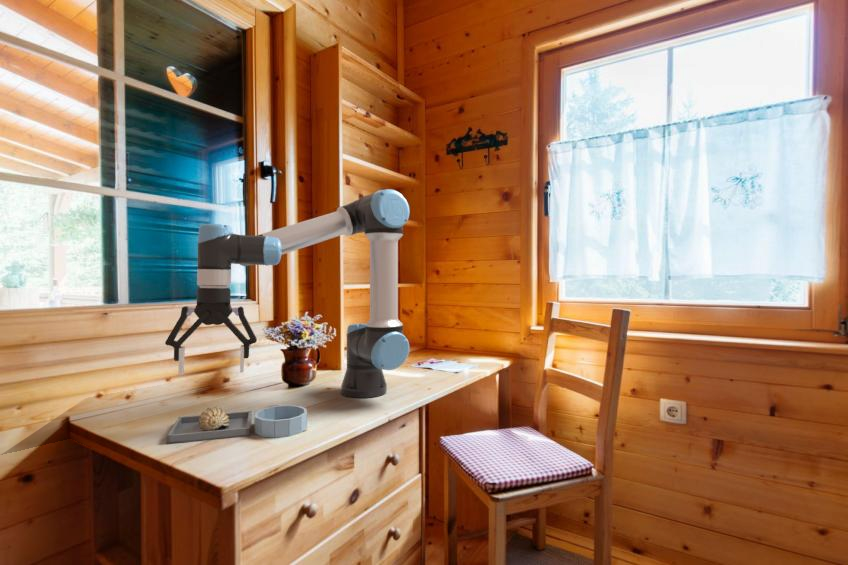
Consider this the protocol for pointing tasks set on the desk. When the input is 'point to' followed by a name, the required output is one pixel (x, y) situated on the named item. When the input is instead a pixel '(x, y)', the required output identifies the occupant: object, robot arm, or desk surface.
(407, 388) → the desk surface
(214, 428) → the seashell
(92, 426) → the desk surface
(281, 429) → the bowl
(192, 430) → the tray
